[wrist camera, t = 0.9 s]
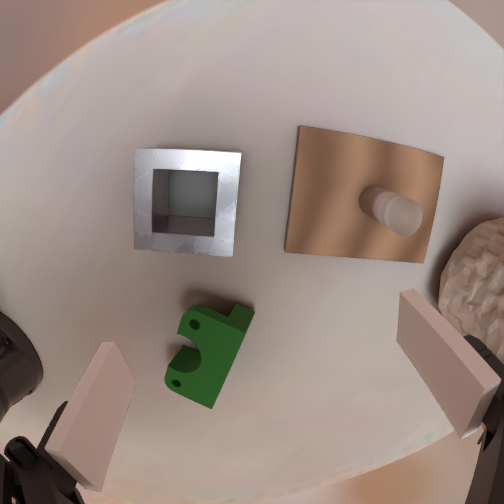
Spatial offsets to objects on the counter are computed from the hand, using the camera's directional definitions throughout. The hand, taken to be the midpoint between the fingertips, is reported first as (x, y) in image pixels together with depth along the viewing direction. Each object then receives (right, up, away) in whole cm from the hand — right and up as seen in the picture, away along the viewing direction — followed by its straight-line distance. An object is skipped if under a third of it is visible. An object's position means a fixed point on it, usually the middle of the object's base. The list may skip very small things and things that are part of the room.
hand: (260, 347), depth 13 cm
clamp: (-5, -5, +21) cm, 22 cm away
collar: (-6, +10, +15) cm, 19 cm away
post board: (+11, +9, +16) cm, 22 cm away
